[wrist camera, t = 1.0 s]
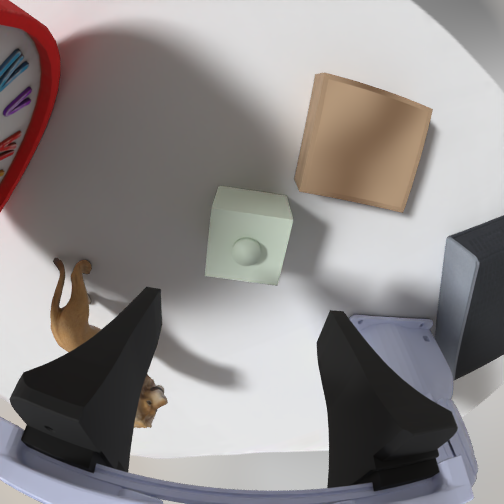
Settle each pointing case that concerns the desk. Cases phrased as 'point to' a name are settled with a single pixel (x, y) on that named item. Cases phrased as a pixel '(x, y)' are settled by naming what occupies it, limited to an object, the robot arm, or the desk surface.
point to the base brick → (361, 143)
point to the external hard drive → (472, 298)
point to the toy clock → (23, 91)
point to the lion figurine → (79, 331)
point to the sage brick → (248, 235)
